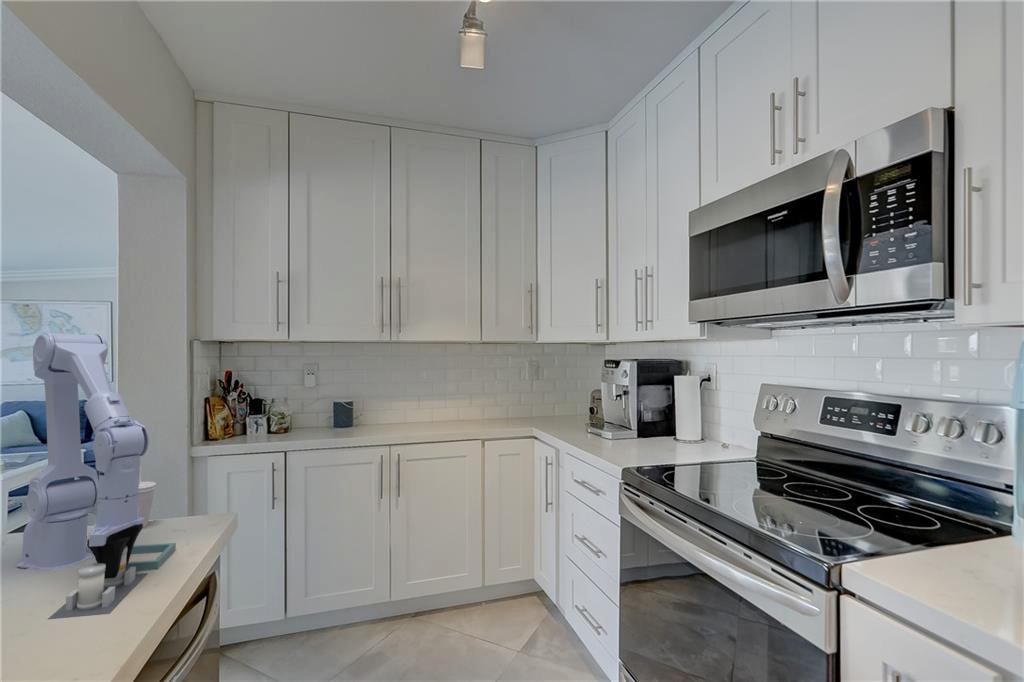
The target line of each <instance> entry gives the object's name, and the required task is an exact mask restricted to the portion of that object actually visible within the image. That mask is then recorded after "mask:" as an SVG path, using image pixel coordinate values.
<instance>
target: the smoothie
mask: <svg viewBox="0 0 1024 682" xmlns="http://www.w3.org/2000/svg"><path fill="white" fill-rule="evenodd" d="M142 468H143V467H142V465H140V473H139V492H138V508H141V510H140V517H145V521H144V522H143V523H142V524H143V528H142V529H144V528H146V527H148V524H149V520H150V514H151V509H152V504H153V498H154V493H155V489H157V483H156V482H155V481H141V480H142Z"/></svg>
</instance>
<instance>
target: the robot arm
mask: <svg viewBox="0 0 1024 682" xmlns="http://www.w3.org/2000/svg"><path fill="white" fill-rule="evenodd" d="M32 347H33V348H32V360H33V361H32V362H33V371H34V376H35V377H36V378H38V379H41V380H42V381H44V393H45V394H44V395H45V415H46V443H47V445H46V447H47V466H46V467H45V468H44V469H42V470H41V471H40V472H38V473H37V474H36V475H34V476H33V477H32V478H31V479H30V480H29V483H28V492H27V496H26V510H27V513H28V515H29V516H30V517H31V519H30V520H29V521H28V522H27V524H26V526H25V528H24V530H23V533H22V534H23V536H22V555H21V562H19V563H17V564H16V567H17V568H22V569H30V568H36V569H42V570H49V571H59V570H63V569H65V568H67V567H69V566H70V567H71V566H72V565H75V564H78V563H81V562H83V561H85V560H88V559H90V558H93V557H94V559H95V561H96V563H104V564H105V565H106V568H105V573H104V579H108V578H115V577H116V576H117V574H118V572H119V568H120V562H121V557H122V554H123V551H124V548H125V546H128V550H127V556H126V567H127V565H128V562H130V558H131V555H132V554H131V552H132V549H133V546H134V545H135V542H136V541H137V538H138V536H139V535H140V533H141V531H142V530H143V529H144V528H143V524H142V523H143V522H144V521H145V517H140V510H141V508H138V492H139V473H140V466H141V457H142V456H143V457H144V456H145V454H146V453H147V451H148V448H149V443H150V442H149V441H150V437H149V433H148V430H147V427H146V426H145V425H144V424H142V423H140V422H139V421H138V420H137V419H136V420H134V419H133V418H132V415H131V413H130V411H129V409H128V407H127V405H126V403H125V401H124V398H123V396H122V395H121V394H119V393H117V392H113V390H112V388H111V384H110V382H109V377H108V375H107V370H106V369H105V363H106V360H107V356H108V350H109V349H108V343H107V340H106V338H105V337H104V336H103V335H101V334H99V333H98V334H97V333H96V334H82V333H81V334H79V333H60V332H59V333H56V332H54V333H52V332H48V331H44V332H41V333H40V334H39V335H38V336H37V337H36V339H35V342H34V344H33V346H32ZM79 385H80V387H81V389H82V391H83V392H84V394H85V396H86V397H87V401H86V402H85V404H84V406H83V410H84V412H85V414H86V417H87V419H88V420H89V423H90V425H91V428H92V430H93V432H94V435H95V436H94V439H93V442H92V450H93V455H94V457H95V458H94V459H95V468H96V469H95V468H93V467H91V466H89V465H87V464H85V463H83V462H82V445H81V442H82V441H81V421H80V403H79V401H80V400H79ZM97 471H98V472H97ZM72 478H77V479H72ZM65 479H66V481H65ZM67 479H70V480H67ZM71 479H72V480H71ZM60 480H64V481H60ZM55 481H60V482H55ZM53 482H54V483H53ZM94 508H96V518H95V519H96V520H95V522H94V525H93V530H92V532H91V533H90V534H89V538H88V523H89V521H88V520H89V519H88V518H89V514H92V513H93V509H94ZM87 548H88V549H89V550H90V551H91V552H87Z"/></svg>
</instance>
